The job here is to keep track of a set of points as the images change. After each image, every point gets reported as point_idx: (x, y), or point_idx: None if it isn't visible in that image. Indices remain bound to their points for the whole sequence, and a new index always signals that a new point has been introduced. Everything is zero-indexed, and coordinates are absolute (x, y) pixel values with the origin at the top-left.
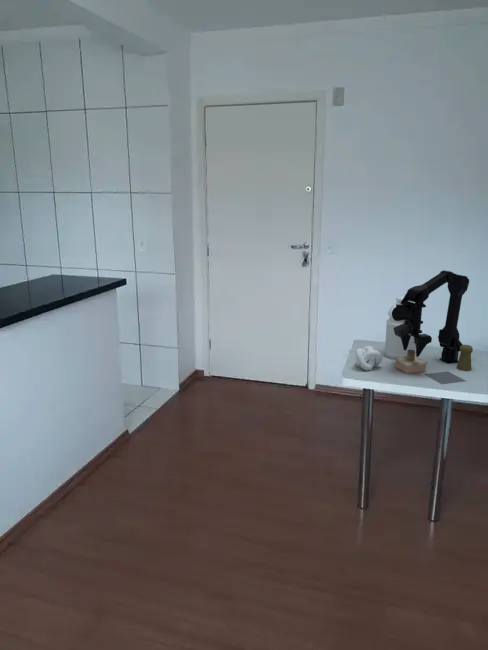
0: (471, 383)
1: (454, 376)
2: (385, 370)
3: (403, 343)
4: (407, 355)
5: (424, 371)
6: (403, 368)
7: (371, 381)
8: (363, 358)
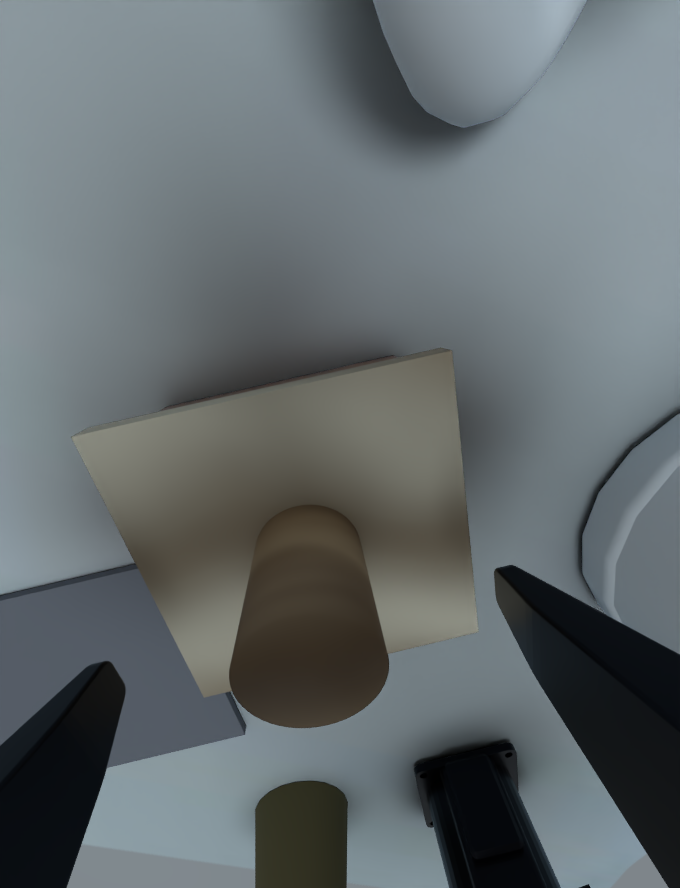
0: None
1: (128, 745)
2: (314, 192)
3: (616, 681)
4: (302, 545)
5: None
6: None
7: None
8: None
